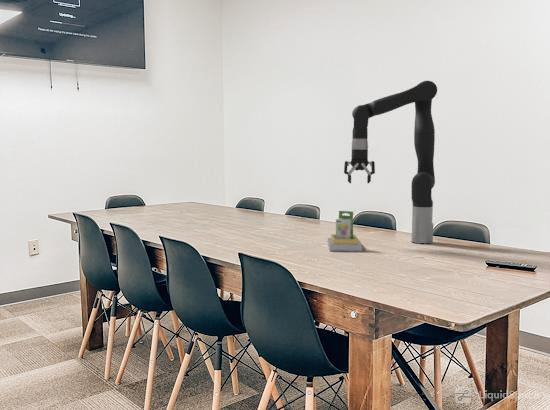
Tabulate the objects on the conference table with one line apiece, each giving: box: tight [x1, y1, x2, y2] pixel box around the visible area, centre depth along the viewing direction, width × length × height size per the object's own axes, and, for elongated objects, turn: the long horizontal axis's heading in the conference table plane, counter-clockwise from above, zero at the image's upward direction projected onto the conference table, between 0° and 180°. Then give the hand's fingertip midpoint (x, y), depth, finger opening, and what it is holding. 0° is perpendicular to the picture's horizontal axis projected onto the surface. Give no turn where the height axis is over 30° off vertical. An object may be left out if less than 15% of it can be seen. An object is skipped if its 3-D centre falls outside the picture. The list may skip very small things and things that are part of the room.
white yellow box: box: [327, 233, 363, 252], centre depth 241 cm, size 14×16×6 cm
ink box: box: [335, 210, 354, 239], centre depth 241 cm, size 7×4×13 cm, turn 62°
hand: (359, 183), depth 254 cm, fingers open, 8 cm apart
